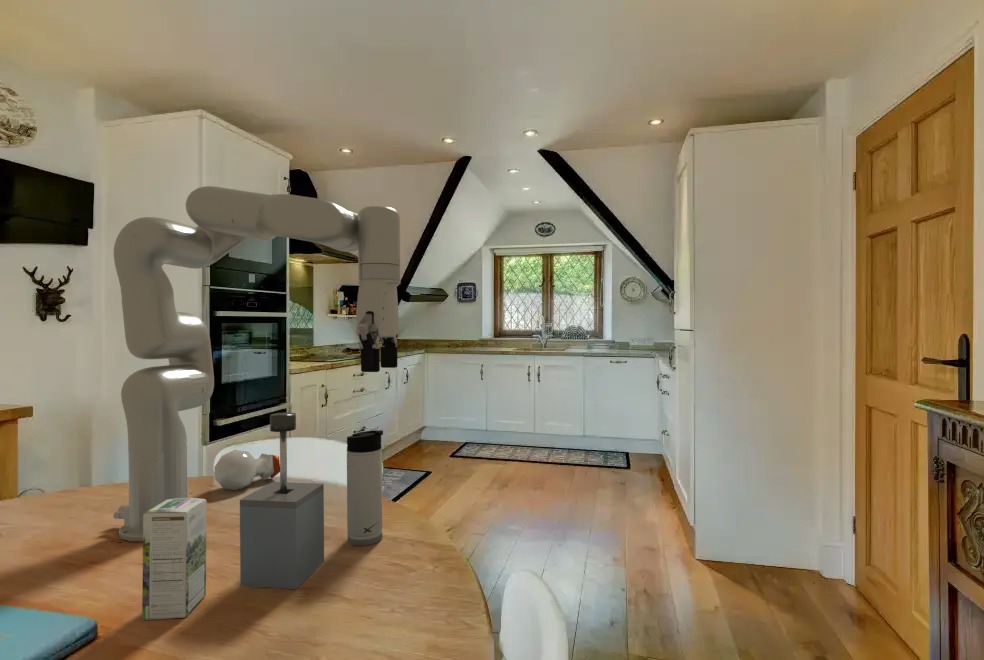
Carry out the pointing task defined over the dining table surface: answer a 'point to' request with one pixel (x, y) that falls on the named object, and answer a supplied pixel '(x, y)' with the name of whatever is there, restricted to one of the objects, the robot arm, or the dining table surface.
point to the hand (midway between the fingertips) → (380, 369)
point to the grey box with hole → (281, 535)
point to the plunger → (283, 441)
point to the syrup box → (174, 558)
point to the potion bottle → (244, 469)
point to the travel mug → (364, 488)
